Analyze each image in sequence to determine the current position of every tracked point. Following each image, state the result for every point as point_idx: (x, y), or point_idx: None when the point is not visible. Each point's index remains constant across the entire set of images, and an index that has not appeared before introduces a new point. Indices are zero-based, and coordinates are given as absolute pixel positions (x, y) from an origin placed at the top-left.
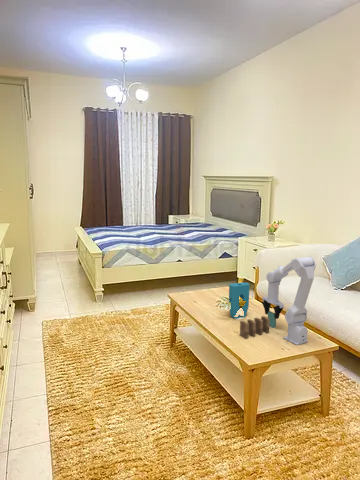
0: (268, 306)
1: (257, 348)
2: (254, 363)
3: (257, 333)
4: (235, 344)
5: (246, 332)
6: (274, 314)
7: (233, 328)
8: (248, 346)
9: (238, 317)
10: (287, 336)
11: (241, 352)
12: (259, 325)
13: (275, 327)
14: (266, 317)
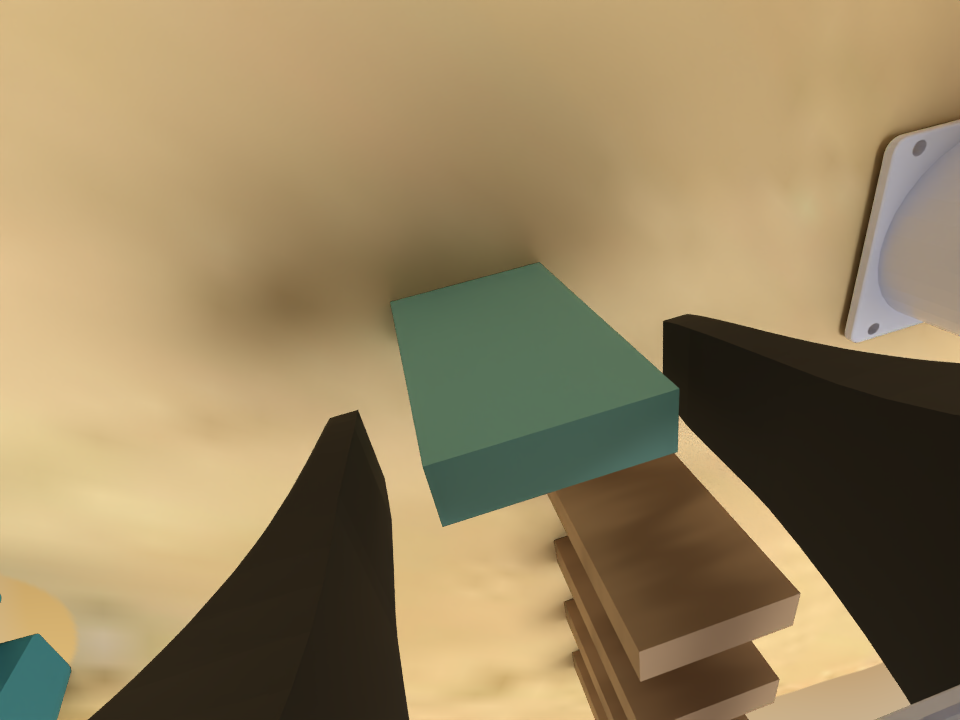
0: (363, 620)
1: (815, 596)
2: None
3: None
4: None
5: None
6: (674, 442)
7: (409, 697)
8: (757, 638)
9: (38, 648)
10: (914, 317)
11: (789, 676)
12: None
13: (539, 265)
14: (722, 624)
